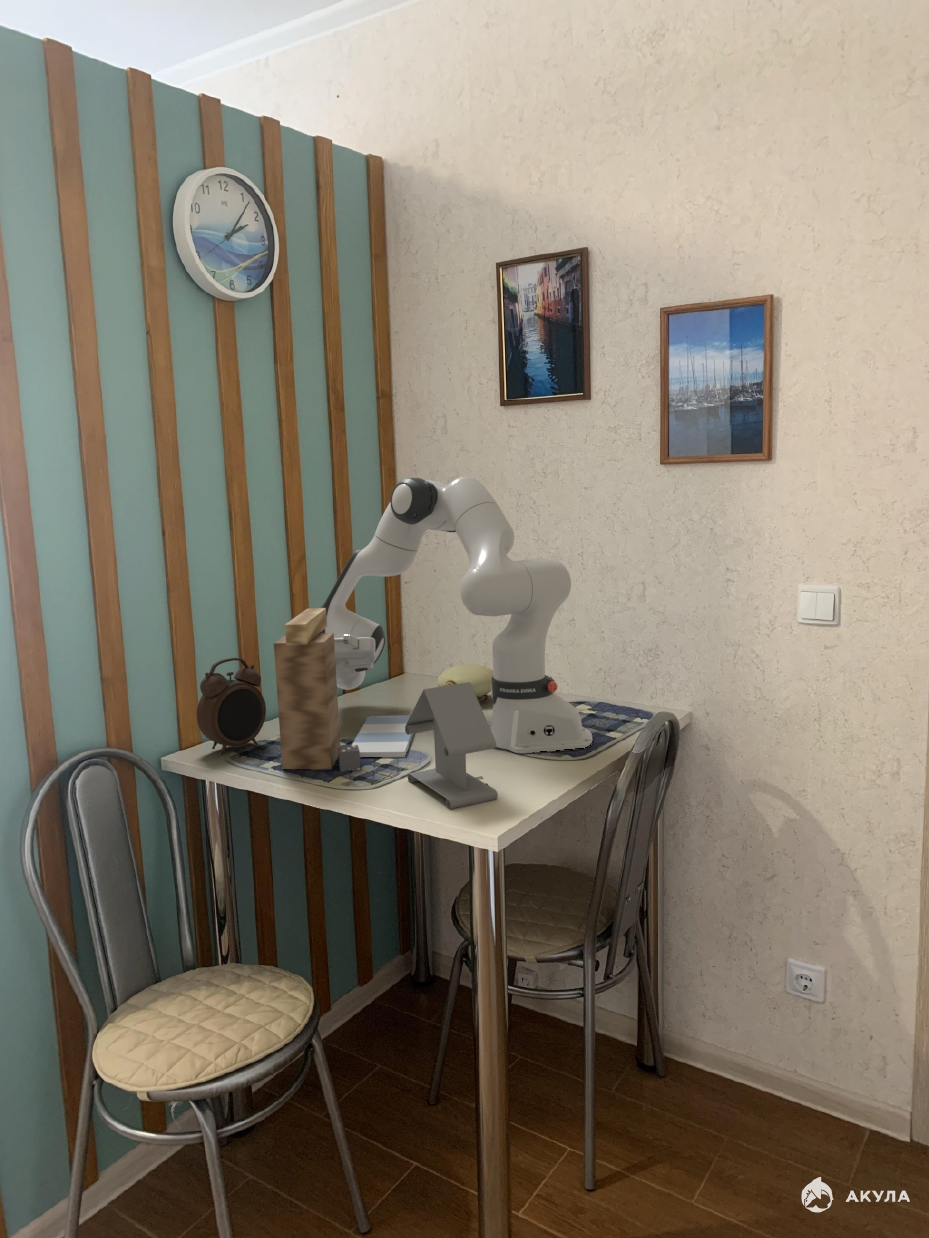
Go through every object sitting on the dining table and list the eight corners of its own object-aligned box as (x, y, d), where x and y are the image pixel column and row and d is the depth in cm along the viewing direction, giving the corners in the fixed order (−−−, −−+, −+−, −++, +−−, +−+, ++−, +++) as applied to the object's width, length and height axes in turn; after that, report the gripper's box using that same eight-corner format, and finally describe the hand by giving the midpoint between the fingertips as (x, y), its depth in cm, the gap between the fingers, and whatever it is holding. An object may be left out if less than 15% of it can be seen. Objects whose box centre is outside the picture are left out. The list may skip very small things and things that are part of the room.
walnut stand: (340, 753, 199) (333, 632, 194) (331, 769, 189) (323, 642, 185) (294, 754, 199) (285, 634, 195) (282, 769, 190) (273, 643, 185)
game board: (418, 720, 222) (418, 715, 222) (405, 757, 195) (404, 751, 195) (368, 720, 223) (368, 716, 223) (347, 758, 196) (347, 752, 195)
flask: (510, 696, 241) (472, 716, 226) (458, 690, 250) (419, 709, 235) (508, 661, 239) (470, 679, 224) (456, 656, 248) (416, 673, 233)
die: (358, 763, 192) (357, 743, 191) (360, 769, 188) (359, 749, 187) (339, 765, 191) (337, 745, 191) (340, 771, 187) (339, 751, 187)
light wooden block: (327, 626, 202) (325, 608, 202) (306, 644, 183) (305, 624, 182) (308, 626, 203) (307, 608, 202) (286, 645, 183) (284, 624, 182)
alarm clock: (216, 760, 197) (208, 667, 194) (197, 753, 202) (189, 663, 199) (273, 743, 208) (267, 654, 205) (254, 737, 213) (247, 651, 209)
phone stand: (497, 800, 169) (494, 691, 165) (450, 810, 164) (446, 699, 161) (451, 772, 185) (447, 672, 181) (407, 781, 180) (402, 679, 177)
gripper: (295, 646, 225) (280, 626, 212) (380, 643, 223) (370, 623, 210) (293, 671, 222) (278, 652, 210) (379, 669, 221) (369, 650, 208)
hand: (325, 638), depth 210 cm, fingers open, 8 cm apart
